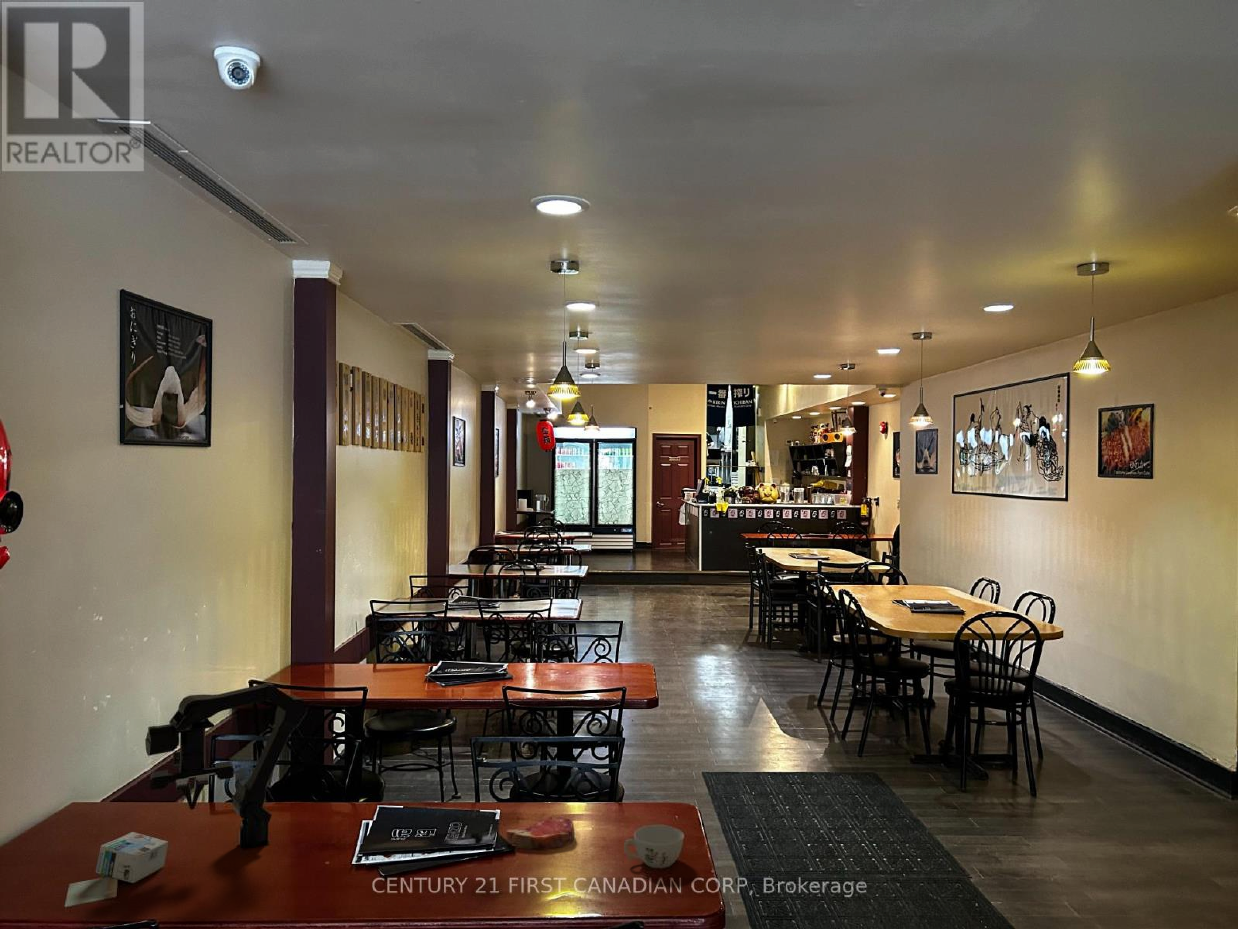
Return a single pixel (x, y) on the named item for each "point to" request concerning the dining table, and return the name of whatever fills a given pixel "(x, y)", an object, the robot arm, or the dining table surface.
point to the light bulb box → (131, 857)
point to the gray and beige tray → (91, 891)
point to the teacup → (656, 845)
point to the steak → (543, 834)
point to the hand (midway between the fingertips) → (192, 809)
